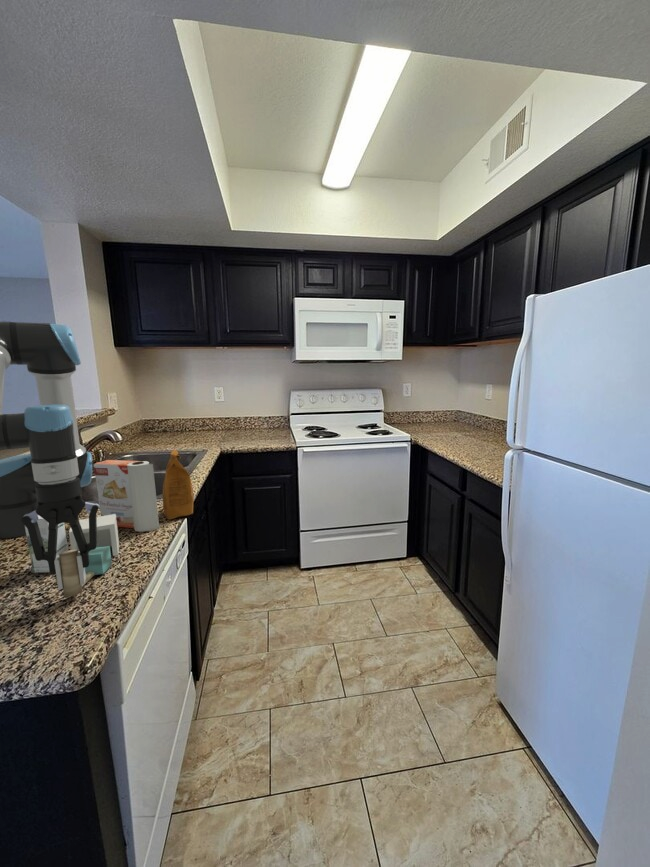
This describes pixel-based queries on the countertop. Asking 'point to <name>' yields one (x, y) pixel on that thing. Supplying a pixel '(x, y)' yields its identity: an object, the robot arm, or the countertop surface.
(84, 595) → the countertop surface
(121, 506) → the cracker box
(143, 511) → the paper towel roll
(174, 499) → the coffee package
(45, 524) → the syrup box
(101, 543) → the cubby
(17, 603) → the countertop surface
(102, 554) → the tethered block
